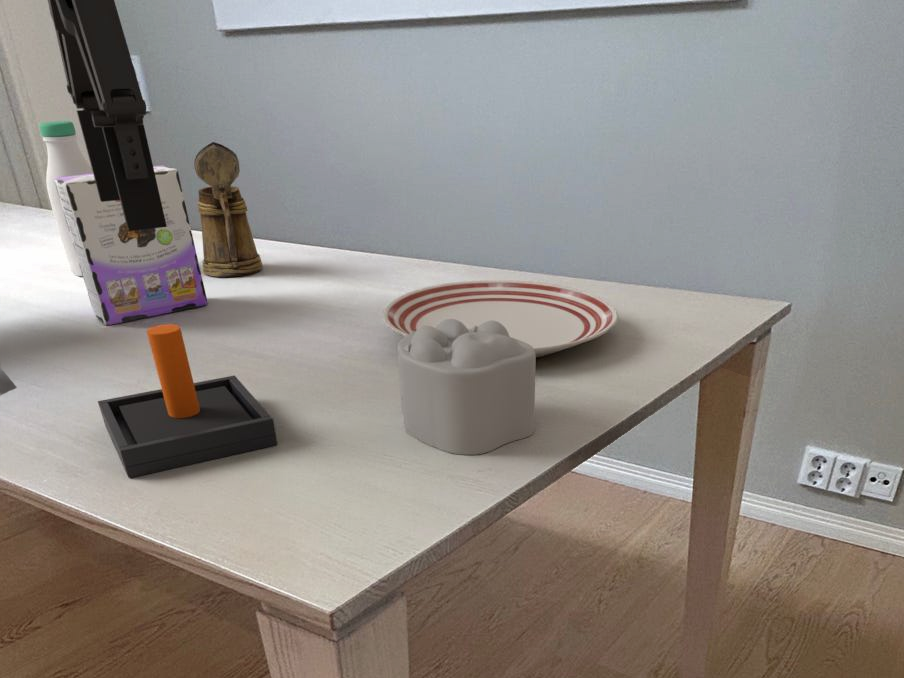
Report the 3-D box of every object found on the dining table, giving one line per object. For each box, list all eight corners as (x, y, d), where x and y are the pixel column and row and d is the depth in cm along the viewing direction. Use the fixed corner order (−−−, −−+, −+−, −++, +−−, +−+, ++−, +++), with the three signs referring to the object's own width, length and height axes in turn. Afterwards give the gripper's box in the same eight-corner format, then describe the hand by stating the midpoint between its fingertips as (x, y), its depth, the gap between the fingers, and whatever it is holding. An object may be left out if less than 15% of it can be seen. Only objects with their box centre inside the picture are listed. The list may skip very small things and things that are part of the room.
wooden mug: (208, 287, 120) (178, 144, 109) (201, 267, 130) (173, 134, 119) (270, 281, 122) (246, 139, 111) (258, 261, 132) (235, 130, 121)
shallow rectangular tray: (105, 426, 79) (97, 401, 78) (239, 399, 84) (234, 375, 82) (128, 478, 70) (120, 451, 68) (278, 445, 75) (273, 418, 73)
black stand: (122, 418, 78) (94, 324, 73) (227, 397, 82) (207, 306, 76) (142, 456, 71) (112, 355, 66) (255, 432, 74) (235, 334, 69)
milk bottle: (83, 280, 125) (37, 126, 113) (64, 272, 129) (18, 123, 117) (132, 271, 129) (92, 120, 117) (112, 263, 134) (72, 118, 121)
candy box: (193, 297, 116) (163, 163, 106) (209, 306, 112) (179, 168, 102) (93, 316, 109) (51, 175, 99) (106, 326, 105) (64, 181, 95)
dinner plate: (633, 311, 105) (636, 283, 103) (590, 386, 84) (591, 353, 82) (432, 298, 112) (430, 272, 110) (346, 365, 91) (342, 334, 89)
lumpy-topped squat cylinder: (463, 461, 71) (459, 360, 66) (376, 419, 79) (366, 326, 74) (549, 428, 76) (552, 332, 71) (460, 391, 84) (456, 303, 79)
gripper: (135, -182, 45) (216, 236, 58) (77, -127, 63) (149, 185, 76) (-14, -192, 43) (106, 249, 56) (-31, -131, 60) (63, 193, 73)
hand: (131, 213), depth 66 cm, fingers open, 13 cm apart
